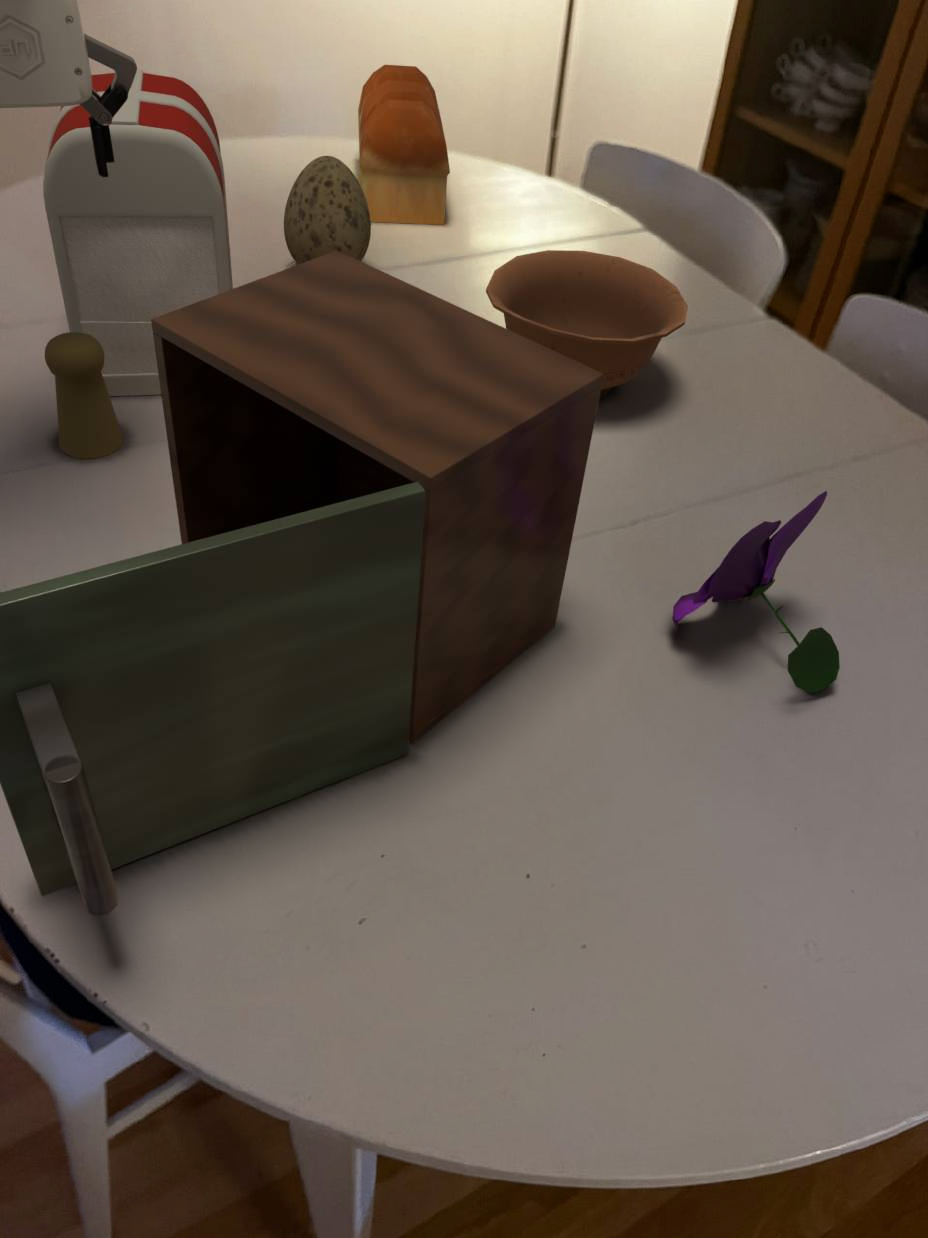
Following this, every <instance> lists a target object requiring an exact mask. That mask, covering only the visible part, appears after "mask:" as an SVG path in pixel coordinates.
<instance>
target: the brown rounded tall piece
mask: <svg viewBox="0 0 928 1238" xmlns="http://www.w3.org/2000/svg"><path fill="white" fill-rule="evenodd" d="M44 361H45V364H46V366H47V368H48V370H49V372H50V373H51V374H52V375H53V376H54V382H55V384H54V385H55V397H56V414H57V415H56V416H57V432H58V446H59V448H60V450H61V451H62V452H63V453H64V454H66V455H67V456H70V457H73V458H76V459H77V458H78V459H97V458H98V459H99V458H102V457H107V456H108V455H110V454H112V453H114V452H116V451H117V450H119V449H121V446H122V444H123V443H124V436H123V433H122V430H121V426H120V424H119V421H118V418H117V415H116V412H115V409H114V406H113V403H112V400H111V396H109V394H108V391H107V388H106V385H105V382H104V379H103V376H102V373H101V370H102V368H103V367H104V351H103V349H102V346H101V345H100V343H99V342H98V341H97V340H96V338H94V337H93V336H91V335H88V334H85V333H80V332H70V331H69V332H63V333H61V334H58V335H55V336H53V337H52V338H50V339H49V341H48V342H47V343H46V346H45V349H44Z"/></svg>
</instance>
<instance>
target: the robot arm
mask: <svg viewBox="0 0 928 1238" xmlns="http://www.w3.org/2000/svg"><path fill="white" fill-rule="evenodd" d="M81 18H82V17H81V13H80V9H79V5H78V1H77V0H0V109H18V108H19V109H20V108H21V109H23V108H24V109H25V108H50V107H51V108H52V107H61V106H71V105H78V104H80V105H81V106H82V107H83V108H84V109H85V110H86V111H87V112H88V113H89V114H90V115H91V117H88V118H89V124H90V130H91V136H92V142H93V148H94V154H95V160H96V165H97V169H98V173H99V176H102V177H108V170H107V164H106V163H111V162H114V154H113V148H112V142H111V135H110V129H109V125H110V124H111V122H112V118H113V117H114V116H115V114H116V113H117V112H118V111H119V109H120V108H121V107H122V106H123V104H124V103H125V102H126V101H127V99H128V93H129V90H130V89H131V86H132V83H133V80H134V77H135V74H136V72H137V70H138V65H137V63H136V61H135V59H134V58H133V56H130V55H128V54H126V53H124V52H122V51H120V50H118V49H116V48H114V47H112V46H110V45H108V44H106V43H104V42H102V41H100V40H98V39H96V38H94V37H92V36H90V35H88V34H86V33H85V32H84V29H83V23H82V19H81ZM90 59H91V60H93V61H95V62H97V63H99V64H101V65H103V66H105V67H107V68H109V69H112V70H113V72H115V75H114V79H113V82H112V83H111V84H110V86H109V87H108V88H107V89H106V91H105V92H104V93H103V95H102V96H100V95H99V94H98V93H97V92H96V91H95V90H94V89H93V88H92V78H91V74H92V72H91V65H90Z"/></svg>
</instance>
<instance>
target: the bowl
mask: <svg viewBox="0 0 928 1238" xmlns="http://www.w3.org/2000/svg"><path fill="white" fill-rule="evenodd" d="M485 293H486V296H487V298H488V300H489V301H490V304H491V305H492V307H493V308H494V309H496V310H497V311H499V312H501V313H502V314H503V319H504V324H505V328H506V329H508V330H510V331H512V332H514V333H516V334H518V335H521V336H523V337H525V338H527V339H529V340H531V341H534V342H536V343H538V344H540V345H542V346H544V347H547V348H549V349H551V350H553V351H555V352H557V353H560V354H562V355H564V356H566V357H568V358H570V359H572V360H575V361H577V362H579V363H581V364H583V365H585V366H588V367H590V368H592V369H594V370H596V371H598V372H601V373H603V374H604V376H603V381H602V386H601V392H600V397H599V398H601V397H603V396H605V395H606V394H608V392H610V391H611V390H612V388H614V387H618V386H622V385H624V384H626V383H628V382H629V381H630V380H632V379H633V378H635V377H636V376H637V375H638V374H639V373H642V371H643V370H645V368H646V367H647V366H648V365H649V363H650V362H651V359H652V357H653V356H654V354H655V352H656V350H657V348H658V346H659V344H660V343H661V341H662V339H663V338H666V337H668V336H670V335H671V334H672V333H674V332H675V331H677V330H679V329H680V328H682V327H683V326H685V325H686V322H687V315H688V308H689V305H688V304H687V302H686V300H685V299H684V297H683V295H682V293H681V292H680V290H679V288H678V287H677V286H676V285H675V284H674V283H672V282H671V281H669V280H668V279H667V278H665V277H664V276H663V275H662V274H661V273H659V272H657V271H656V270H655V269H653V268H651V267H648V266H645V265H642V264H640V263H637V262H634V261H632V260H630V259H629V260H628V259H626V258H624V257H621V256H615V255H609V254H604V253H599V252H592V251H587V250H559V249H558V250H557V249H556V250H555V249H553V250H552V249H547V250H542V251H537V252H530V253H526V254H525V253H524V254H520V255H516V256H514V257H513V258H512V259H510V260H508V261H507V262H505V263H504V264H502V265H500V266H499V267H497V268H496V269H495V270H494V271H493V273H492V275H491V277H490V280H489V282H488V284H487V286H486V288H485Z"/></svg>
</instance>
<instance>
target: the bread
mask: <svg viewBox="0 0 928 1238" xmlns="http://www.w3.org/2000/svg"><path fill="white" fill-rule="evenodd" d="M441 117H442V116H441V112H440V108H439V104H438V99H437V95H436V90H435V87H433V85H432V83H431V81H430V80H429V78H428V76H427V75H426V74H425V73H424V72H423V71H422V70H421V69H419V68H418V67H417V66H413V65H398V64H397V65H396V64H383V65H382V66H380V67H379V68H378V69H376V70H375V71H373V72H372V73H371V75H370V76H369V77H368V78H367V80H366V82H365V83H364V84H363V86H362V88H361V94H360V99H359V104H358V108H357V120H358V121H357V122H358V123H357V124H358V152H359V153H358V154H359V156H358V157H359V184H360V186H361V188H362V190H363V192H364V195H365V198H366V201H367V204H368V208H369V213H370V221H371V222H372V223H391V224H392V223H393V224H413V225H414V224H418V225H435V226H436V225H439V226H445V217H446V216H445V215H446V201H447V200H446V199H447V188H448V187H447V185H448V176H449V174H450V173H451V169H450V161H449V154H448V153H449V152H448V147H447V141H446V137H445V132H444V126H443V122H442V118H441Z"/></svg>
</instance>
